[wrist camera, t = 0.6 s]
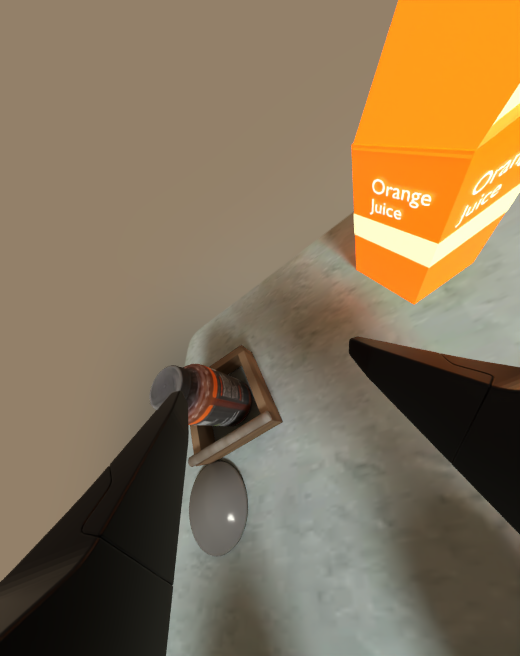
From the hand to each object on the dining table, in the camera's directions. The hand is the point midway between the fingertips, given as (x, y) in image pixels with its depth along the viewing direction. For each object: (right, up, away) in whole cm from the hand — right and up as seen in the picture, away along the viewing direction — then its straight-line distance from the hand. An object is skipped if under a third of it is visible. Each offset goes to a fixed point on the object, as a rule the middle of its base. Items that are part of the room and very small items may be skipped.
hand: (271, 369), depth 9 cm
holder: (-4, -8, +16) cm, 18 cm away
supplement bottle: (-4, -8, +16) cm, 18 cm away
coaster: (-5, -17, +11) cm, 21 cm away
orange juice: (+18, +10, +14) cm, 25 cm away
